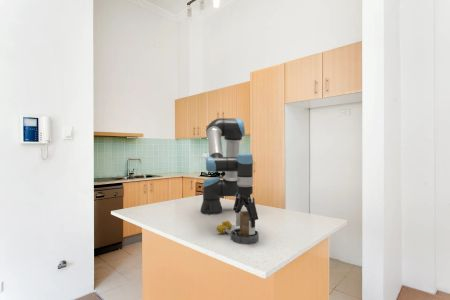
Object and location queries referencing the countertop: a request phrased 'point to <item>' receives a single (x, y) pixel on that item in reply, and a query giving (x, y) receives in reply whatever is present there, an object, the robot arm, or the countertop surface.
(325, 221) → the countertop surface
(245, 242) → the tin
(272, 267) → the countertop surface
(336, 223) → the countertop surface
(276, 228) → the countertop surface
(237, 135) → the robot arm
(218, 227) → the pressure relief valve
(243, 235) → the wooden beam block
